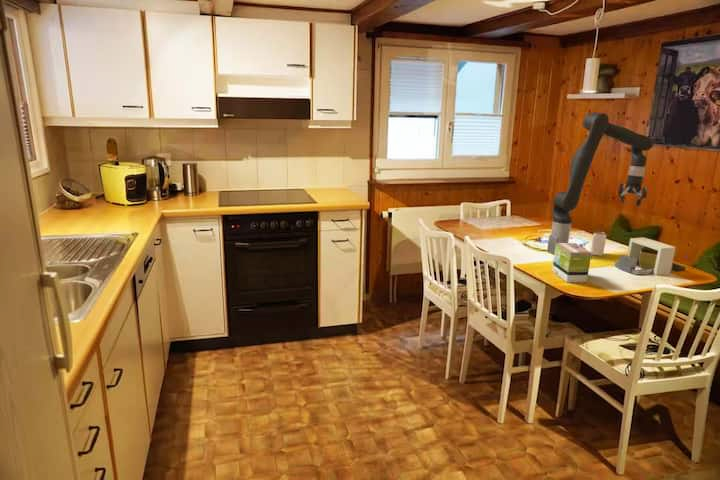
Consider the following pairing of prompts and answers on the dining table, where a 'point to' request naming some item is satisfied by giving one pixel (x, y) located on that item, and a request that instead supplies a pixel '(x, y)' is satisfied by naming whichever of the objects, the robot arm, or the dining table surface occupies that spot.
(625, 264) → the sled
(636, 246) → the tunnel
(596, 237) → the can
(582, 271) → the tea box
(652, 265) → the flower pot
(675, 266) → the pit tray
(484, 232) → the dining table surface
